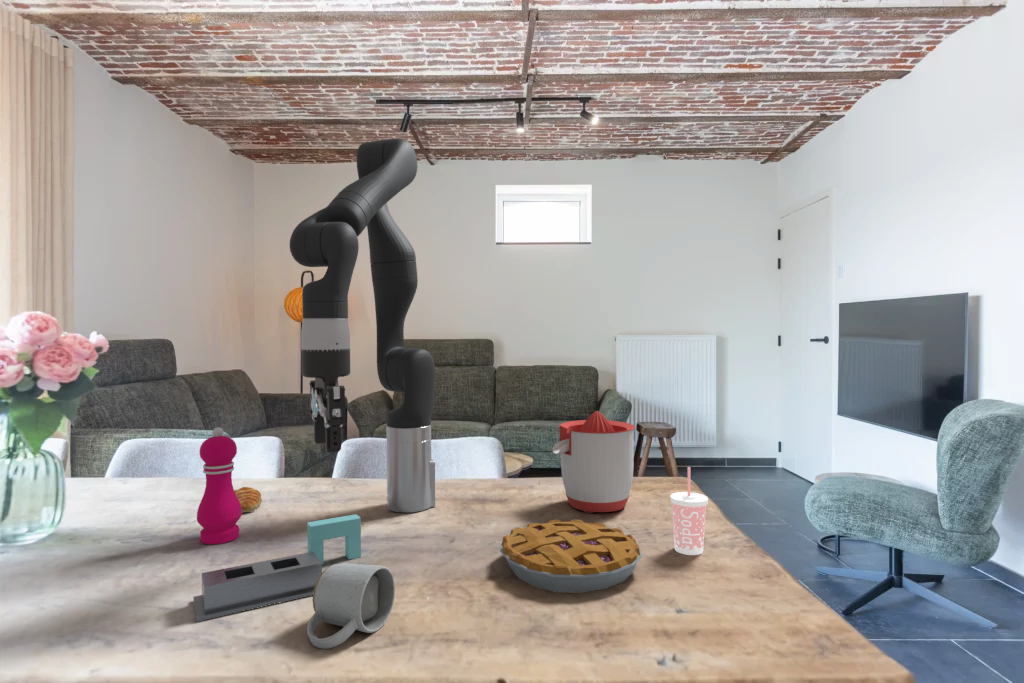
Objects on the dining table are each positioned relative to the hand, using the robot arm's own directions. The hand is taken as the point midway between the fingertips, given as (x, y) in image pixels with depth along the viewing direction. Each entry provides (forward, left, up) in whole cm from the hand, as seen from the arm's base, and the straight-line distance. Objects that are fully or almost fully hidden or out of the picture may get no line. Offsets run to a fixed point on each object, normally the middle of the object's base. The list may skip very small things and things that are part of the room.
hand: (327, 447), depth 97 cm
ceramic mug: (+3, +24, -19) cm, 31 cm away
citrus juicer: (-55, 0, -19) cm, 58 cm away
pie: (-32, +23, -19) cm, 43 cm away
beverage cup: (-53, +28, -19) cm, 62 cm away
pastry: (+8, -38, -19) cm, 43 cm away
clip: (-1, +1, -18) cm, 18 cm away
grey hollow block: (+11, +9, -18) cm, 23 cm away
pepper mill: (+14, -20, -19) cm, 31 cm away
